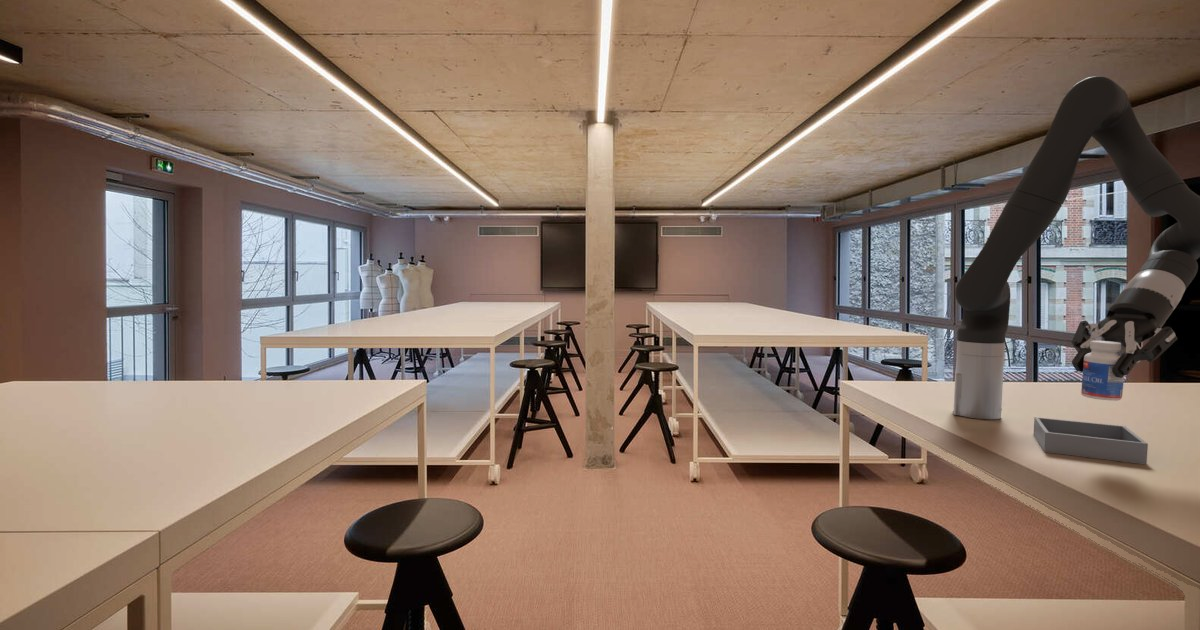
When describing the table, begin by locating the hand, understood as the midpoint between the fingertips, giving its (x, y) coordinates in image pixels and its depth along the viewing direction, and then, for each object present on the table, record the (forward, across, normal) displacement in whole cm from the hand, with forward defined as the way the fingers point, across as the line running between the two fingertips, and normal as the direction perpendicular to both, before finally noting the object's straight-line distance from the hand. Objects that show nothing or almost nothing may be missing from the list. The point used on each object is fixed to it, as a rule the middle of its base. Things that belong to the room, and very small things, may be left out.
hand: (1096, 371), depth 100 cm
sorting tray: (+6, -6, +17) cm, 19 cm away
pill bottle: (+2, 0, +5) cm, 5 cm away
